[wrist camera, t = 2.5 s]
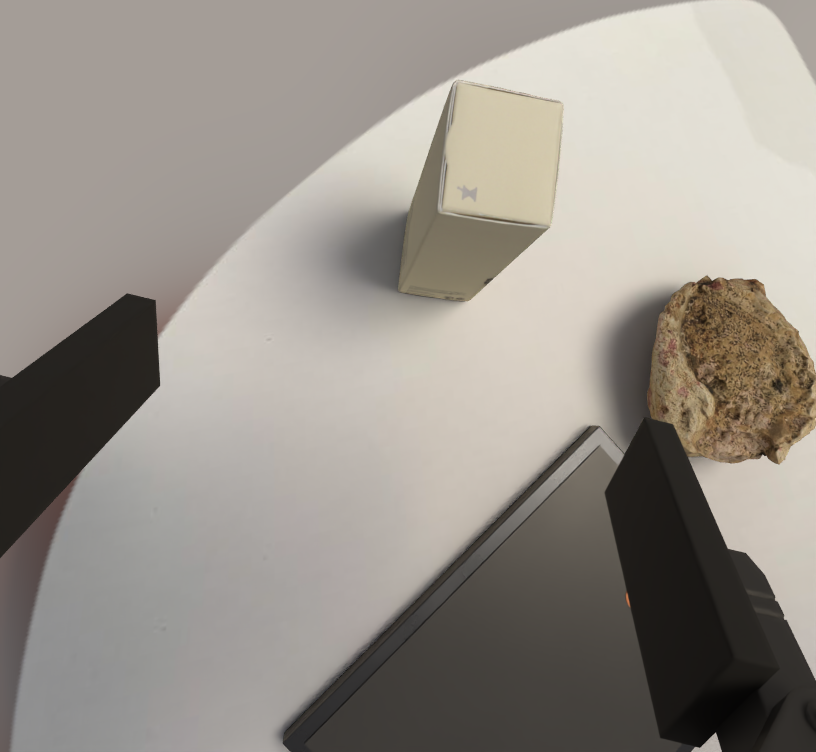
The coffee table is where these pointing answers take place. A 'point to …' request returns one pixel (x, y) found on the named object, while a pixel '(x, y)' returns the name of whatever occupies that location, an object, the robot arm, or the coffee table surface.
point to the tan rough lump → (731, 373)
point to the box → (481, 190)
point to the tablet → (509, 640)
